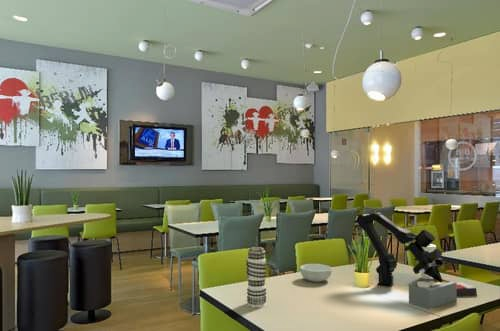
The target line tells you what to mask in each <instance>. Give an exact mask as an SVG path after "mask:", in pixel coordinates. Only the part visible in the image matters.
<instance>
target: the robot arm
mask: <svg viewBox="0 0 500 331" xmlns="http://www.w3.org/2000/svg"><path fill="white" fill-rule="evenodd" d="M375 221H376V222H377V223H378V224H379V225H381V226H382V227H384V228H385V229H386V230H387V231H389V232H390V233H392V234H393V236H394V237H395V239H396V240H397V241H398V242H399V243H400V244H402V245H405V244H408V245H405V246H404V252H410V253H411V254H412V255H413V257H414V261H416V262H418V263H417V264H416V265H415V266H414V267H412V272H413V273H414V274H415V275H418V274H421V273H420V270H421V269H424V270H425V272H424V274H426V275H428V276H430V277H431V279H433V278H434V279H436V280H438V281H439V282H442V281H443V280H444V279H443V277H442V275H441V273H440V270H439V269H440V268H441V267H443V265H444V264H445V263H446V260H445V259H444V258H442V257H443V256H442V254H443V251H442V250H441V249H440V248H436V249H435V250H434V251H433V252H430V253H429V252H428V251H425V250H424V249H423V248H422V247H427V246H429V245H430V244H432V243H433V242H435V240H436V238H435V236H434V235H433V233H431V232H429V231H427V230H426V229H422V230H421V231H420V232H419V233H418V234H415V233H413V232H412V231H411V230H408V229H406V228H403V227H401V226H399V225H397V224H396V223H394V222H393V221H391V220H390V218H388V217H386V216H385V215H383V214H382V213H381V212H374V213H370V214H369V213H362V214H359V215H357V217H356V223H357V225H358V226H359V227H360V228H361V229H362V230H363V231H364V232H365V233H366V235H367V237H368V238H369V241H370V242H371V244H372V246H373V248H374V250H375V251H376V254H377V256H378V264H379V265H378V266H377V267H376V268H375V271H376V273H377V274H378V282H377V285H379V286H385V287H392V286H393V285H394V275H393V272H394V271H395V270H396V269H397V267H398V262H397V261H398V259H396V258H395V254H394V253H389V252H388V251H387V249H386V247H385V245H384V244H383V242H382V240H381V238H380V236H379V235H378V233H377V230H376V229H375V224H374V223H375ZM433 261H434V262H433ZM442 279H443V280H442Z"/></svg>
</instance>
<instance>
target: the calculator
mask: <svg viewBox="0 0 500 331" xmlns="http://www.w3.org/2000/svg"><path fill="white" fill-rule="evenodd" d="M455 282H456V281H455ZM456 286H457V297H466V296H468V297H473V296H478V295H477V293H478V291H477V287H475V286H473V285H470V284H468V283H465V282H463V281H457V282H456Z"/></svg>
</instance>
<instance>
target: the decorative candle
mask: <svg viewBox="0 0 500 331" xmlns="http://www.w3.org/2000/svg"><path fill="white" fill-rule="evenodd" d="M266 252H267V251H266V250H265V249H264V247H262V246H252V247H250V248H249V249H248V250H247V260H246V261H245V262H246V263H245V264H246V268H245V269H246V278H247V288H246V294H247V296H246V303H247V304H248V305H249V306H252V307H251V308H254V307H260V308H263V306H264V307H266V306H267V296H266V295H267V292H266V291H267V288H266V279H267V275H266V274H267V271H265V270H267V269H268V267H267V264H268V263H266ZM248 305H247V306H248ZM265 305H266V306H265ZM249 306H248V307H249Z"/></svg>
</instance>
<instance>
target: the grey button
mask: <svg viewBox="0 0 500 331" xmlns="http://www.w3.org/2000/svg"><path fill="white" fill-rule="evenodd" d="M416 283H417V287H421V288H425V289H426V288H430V283H429V282H425V280H420V281H419V280H418V281H417V282H416Z"/></svg>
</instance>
